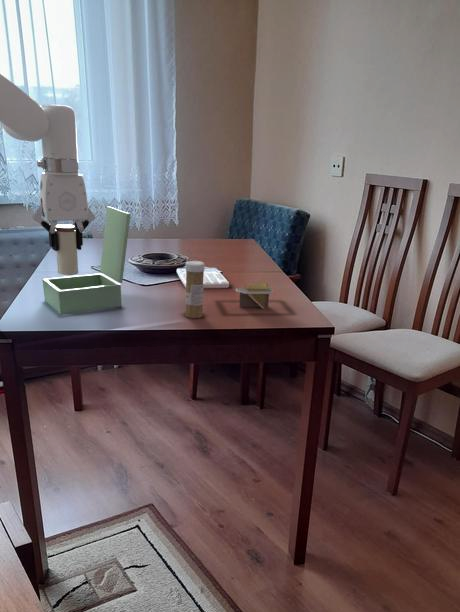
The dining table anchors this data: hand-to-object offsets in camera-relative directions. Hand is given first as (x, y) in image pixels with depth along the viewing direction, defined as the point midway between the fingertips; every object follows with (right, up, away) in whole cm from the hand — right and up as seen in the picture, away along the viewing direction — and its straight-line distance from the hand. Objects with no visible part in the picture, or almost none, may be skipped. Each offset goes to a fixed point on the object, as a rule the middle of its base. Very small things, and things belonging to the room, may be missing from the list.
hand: (66, 248), depth 133 cm
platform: (+46, -12, +15) cm, 50 cm away
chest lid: (+10, +3, +7) cm, 13 cm away
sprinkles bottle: (+30, -15, +7) cm, 35 cm away
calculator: (+30, +1, +39) cm, 50 cm away
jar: (0, -5, +3) cm, 6 cm away
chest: (+1, -12, +10) cm, 16 cm away
